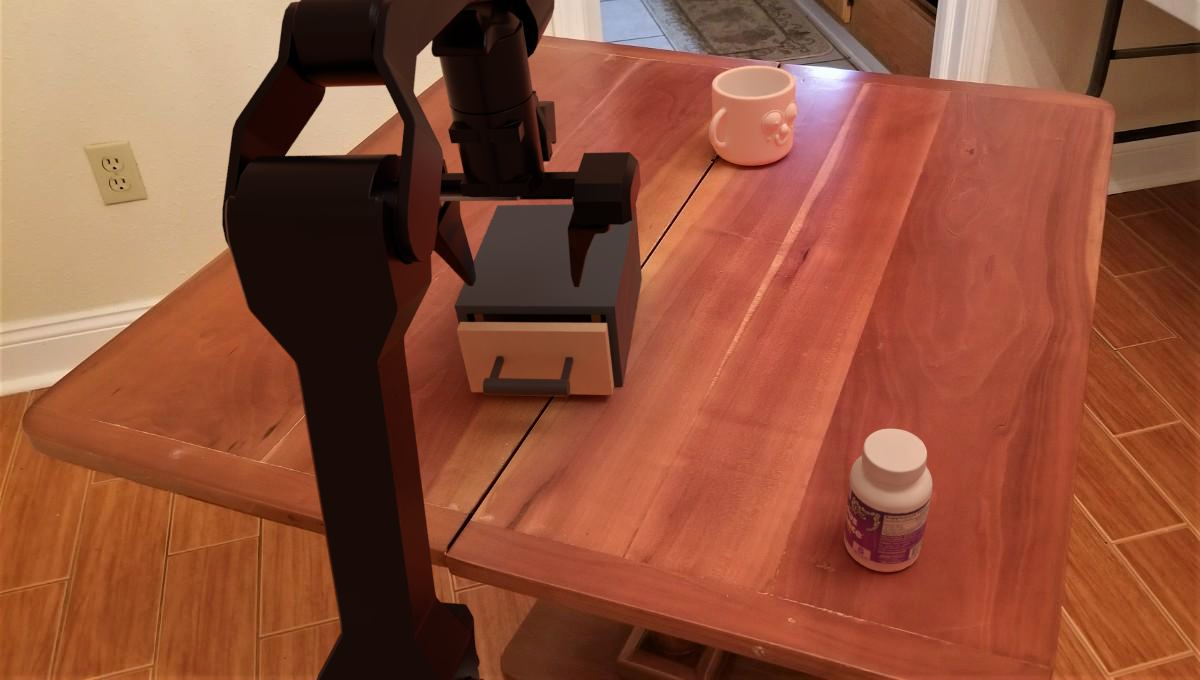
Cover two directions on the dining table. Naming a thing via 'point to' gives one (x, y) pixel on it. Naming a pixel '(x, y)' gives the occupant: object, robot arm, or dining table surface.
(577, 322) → the drawer
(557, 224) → the cabinet
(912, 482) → the pill bottle
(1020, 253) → the dining table surface
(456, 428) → the dining table surface
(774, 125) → the mug
